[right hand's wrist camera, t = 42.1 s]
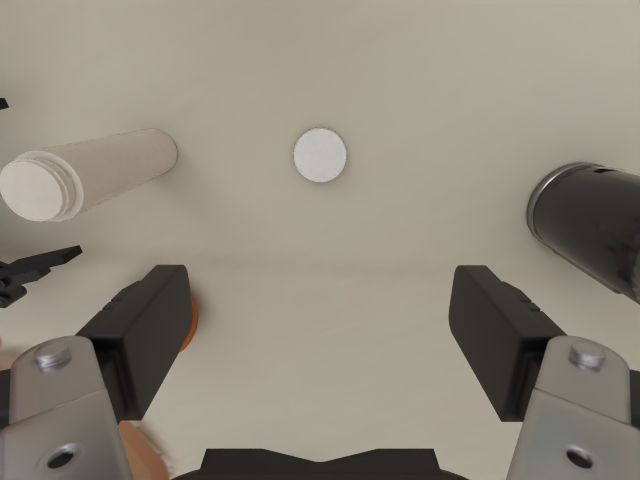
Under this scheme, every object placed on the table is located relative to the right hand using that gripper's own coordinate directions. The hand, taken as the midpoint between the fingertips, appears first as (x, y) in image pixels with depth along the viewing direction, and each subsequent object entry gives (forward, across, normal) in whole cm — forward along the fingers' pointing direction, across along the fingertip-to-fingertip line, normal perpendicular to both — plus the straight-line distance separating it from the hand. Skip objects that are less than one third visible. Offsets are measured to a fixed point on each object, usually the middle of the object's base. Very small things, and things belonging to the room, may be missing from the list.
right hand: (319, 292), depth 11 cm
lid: (+27, 0, 0) cm, 27 cm away
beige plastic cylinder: (+28, +17, 0) cm, 33 cm away
